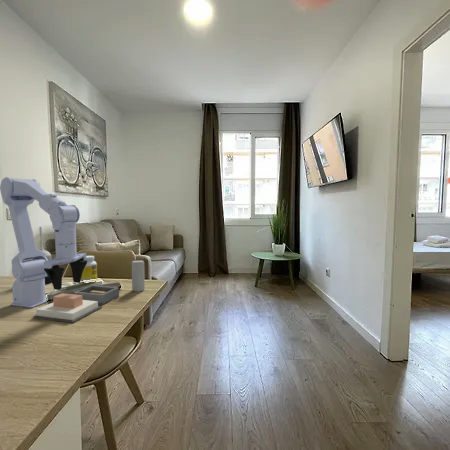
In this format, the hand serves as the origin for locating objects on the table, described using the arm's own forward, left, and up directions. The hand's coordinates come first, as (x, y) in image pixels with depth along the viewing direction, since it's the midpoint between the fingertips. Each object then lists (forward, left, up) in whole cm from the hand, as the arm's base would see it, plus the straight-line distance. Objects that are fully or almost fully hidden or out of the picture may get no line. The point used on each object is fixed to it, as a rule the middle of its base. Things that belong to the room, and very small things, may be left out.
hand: (67, 285), depth 86 cm
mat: (0, 0, -9) cm, 9 cm away
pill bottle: (-19, +31, -9) cm, 37 cm away
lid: (0, 0, -8) cm, 8 cm away
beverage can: (+9, +26, -9) cm, 29 cm away
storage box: (0, +13, -9) cm, 16 cm away
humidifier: (-38, +25, -9) cm, 46 cm away
